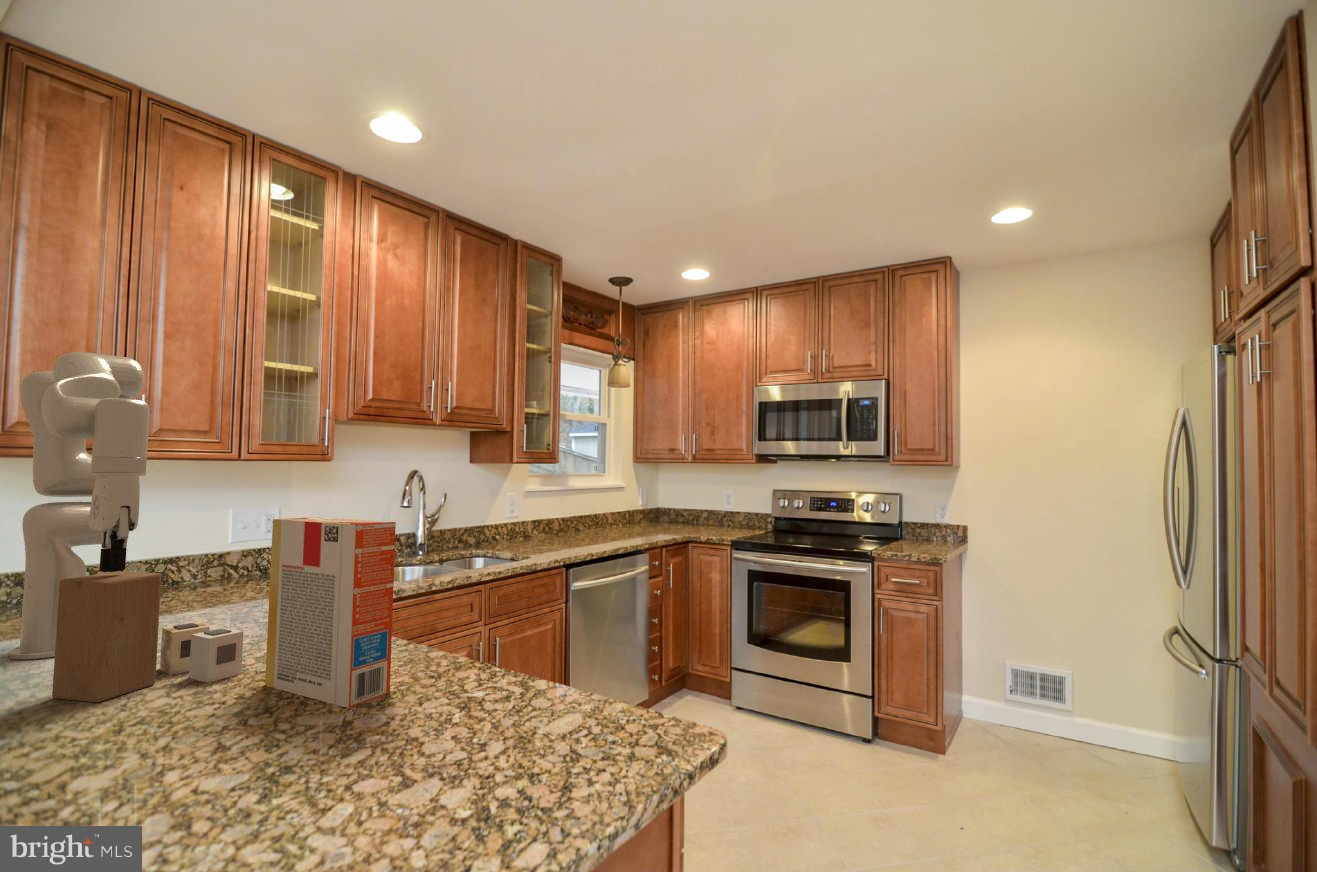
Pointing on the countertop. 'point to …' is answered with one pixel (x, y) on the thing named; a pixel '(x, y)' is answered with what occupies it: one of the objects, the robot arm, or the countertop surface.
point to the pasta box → (331, 608)
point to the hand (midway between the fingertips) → (112, 570)
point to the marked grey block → (216, 654)
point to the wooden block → (106, 635)
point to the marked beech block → (178, 646)
